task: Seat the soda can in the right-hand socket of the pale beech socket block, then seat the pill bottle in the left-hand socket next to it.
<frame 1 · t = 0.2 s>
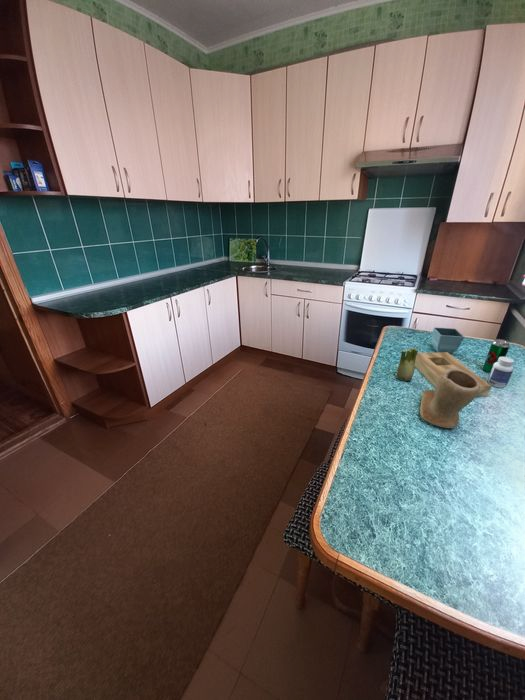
flower pot: (442, 351, 122), on the table
pill bottle: (496, 384, 100), on the table
soda can: (490, 371, 108), on the table
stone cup: (441, 415, 86), on the table
socket block: (444, 377, 104), on the table
fennel bulb: (403, 379, 104), on the table
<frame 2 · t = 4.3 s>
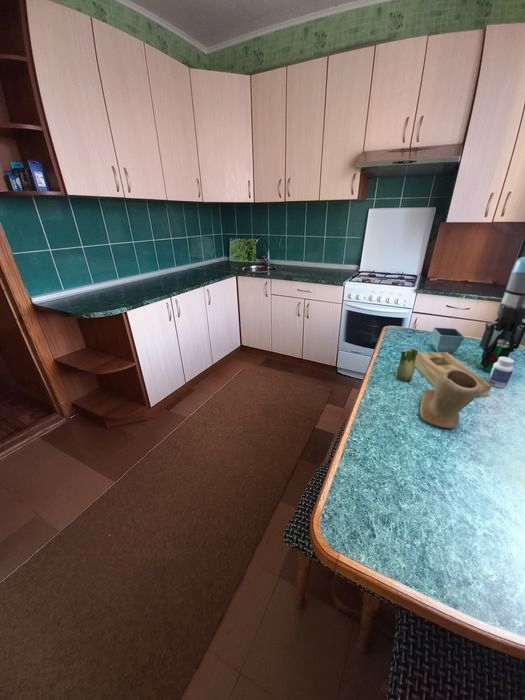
hand: (491, 365, 107), 2 cm above the table, tool pointing down, fingers closed on soda can, 5 cm apart
soda can: (490, 371, 108), on the table, touching gripper
everything else where it was.
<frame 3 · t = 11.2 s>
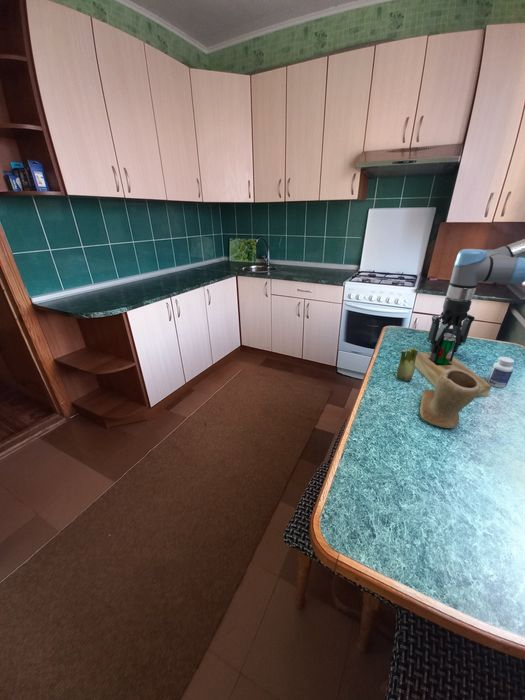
hand: (440, 359, 106), 5 cm above the table, tool pointing down, fingers closed on soda can, 5 cm apart
soda can: (439, 365, 107), point 2 cm above the table, touching gripper
everything else where it was.
when the fingers open (7 cm above the table, at t = 22.2 s): soda can drops 5 cm, resting in socket block.
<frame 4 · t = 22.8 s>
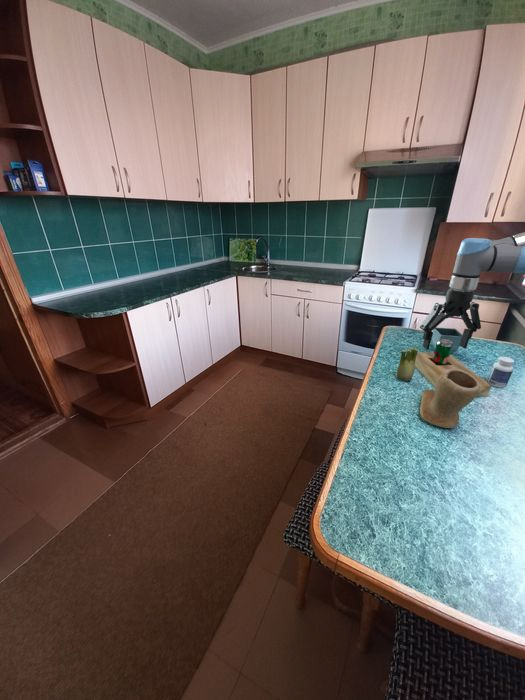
hand: (444, 347, 104), 10 cm above the table, tool pointing down, fingers open, 13 cm apart
soda can: (436, 370, 109), resting in socket block
everything else where it was.
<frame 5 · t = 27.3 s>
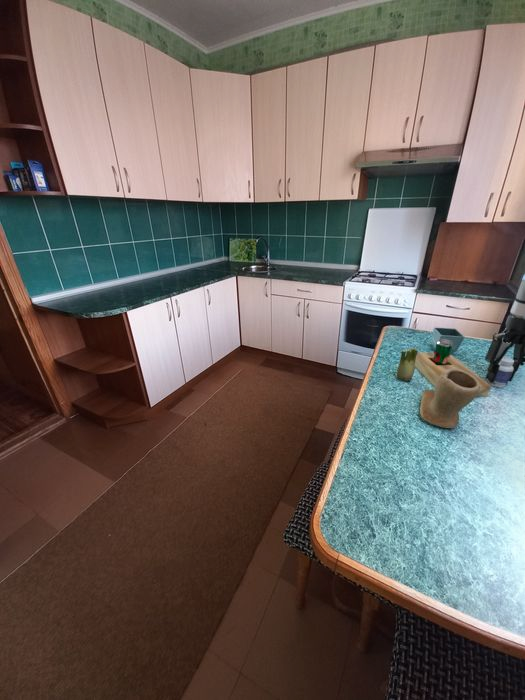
hand: (498, 379, 99), 2 cm above the table, tool pointing down, fingers closed on pill bottle, 5 cm apart
pill bottle: (496, 384, 100), on the table, touching gripper
everything else where it was.
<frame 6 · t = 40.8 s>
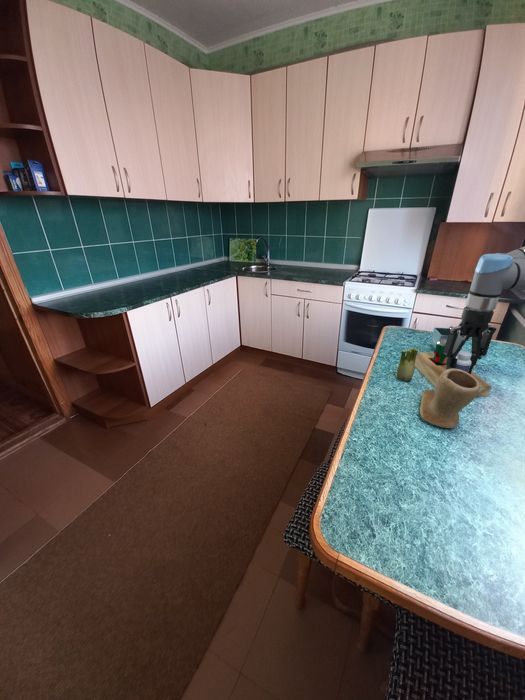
hand: (457, 373, 98), 5 cm above the table, tool pointing down, fingers closed on pill bottle, 5 cm apart
pill bottle: (455, 378, 99), point 3 cm above the table, touching gripper
everything else where it was.
when the fingers open (7 cm above the table, at t = 43.8 s): pill bottle drops 5 cm, resting in socket block.
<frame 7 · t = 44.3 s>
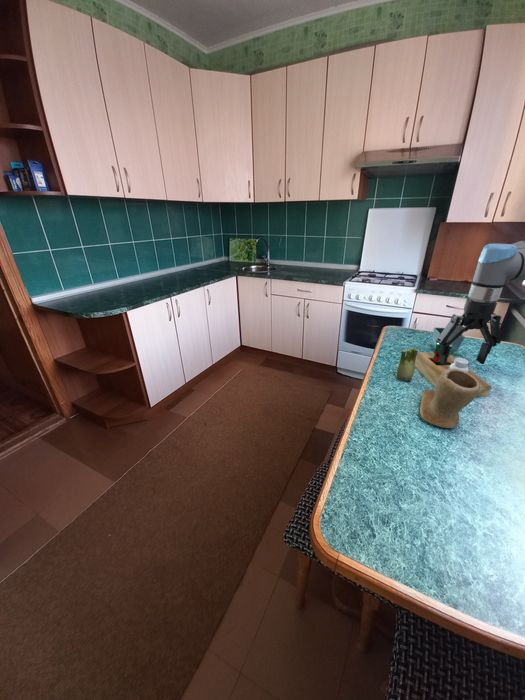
hand: (460, 362, 96), 9 cm above the table, tool pointing down, fingers open, 12 cm apart
pill bottle: (453, 385, 100), resting in socket block
everything else where it was.
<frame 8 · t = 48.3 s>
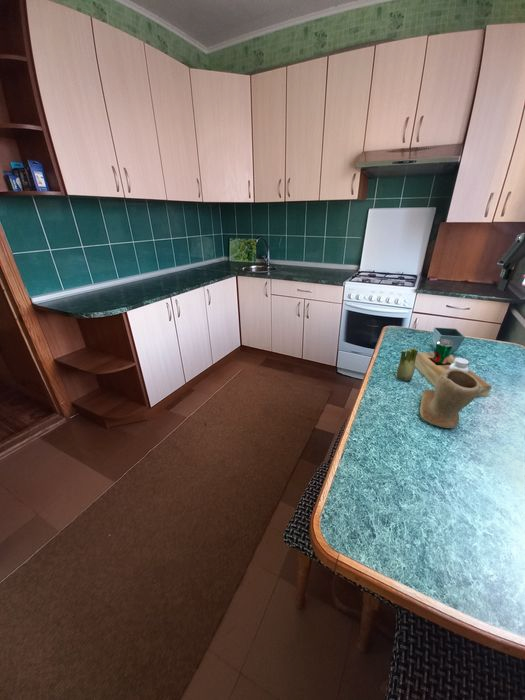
hand: (523, 289, 90), 32 cm above the table, tool pointing down, fingers open, 13 cm apart
nothing on the table moved.
at the end: soda can 0.3 cm from the target spot in the socket block, point 0.0 cm above the socket block's base; pill bottle 0.1 cm from the target spot in the socket block, point 0.0 cm above the socket block's base; pill bottle tilted 0° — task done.
